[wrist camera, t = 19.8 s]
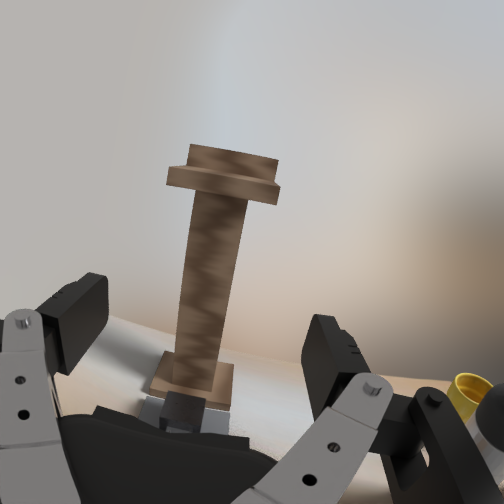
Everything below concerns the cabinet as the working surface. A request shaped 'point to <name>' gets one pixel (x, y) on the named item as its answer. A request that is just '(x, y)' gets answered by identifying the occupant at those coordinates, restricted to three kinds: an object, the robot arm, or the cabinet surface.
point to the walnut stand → (211, 267)
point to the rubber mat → (210, 423)
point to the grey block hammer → (182, 413)
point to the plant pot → (467, 393)
